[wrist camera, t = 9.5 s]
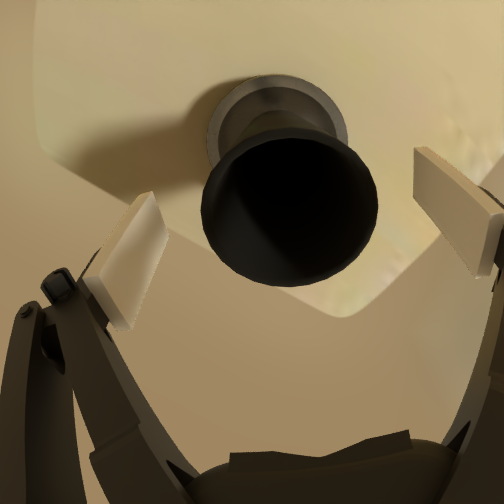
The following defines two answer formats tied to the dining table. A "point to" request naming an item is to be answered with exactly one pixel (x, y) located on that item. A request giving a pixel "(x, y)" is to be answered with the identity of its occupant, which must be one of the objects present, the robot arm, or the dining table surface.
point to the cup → (288, 203)
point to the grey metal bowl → (270, 109)
